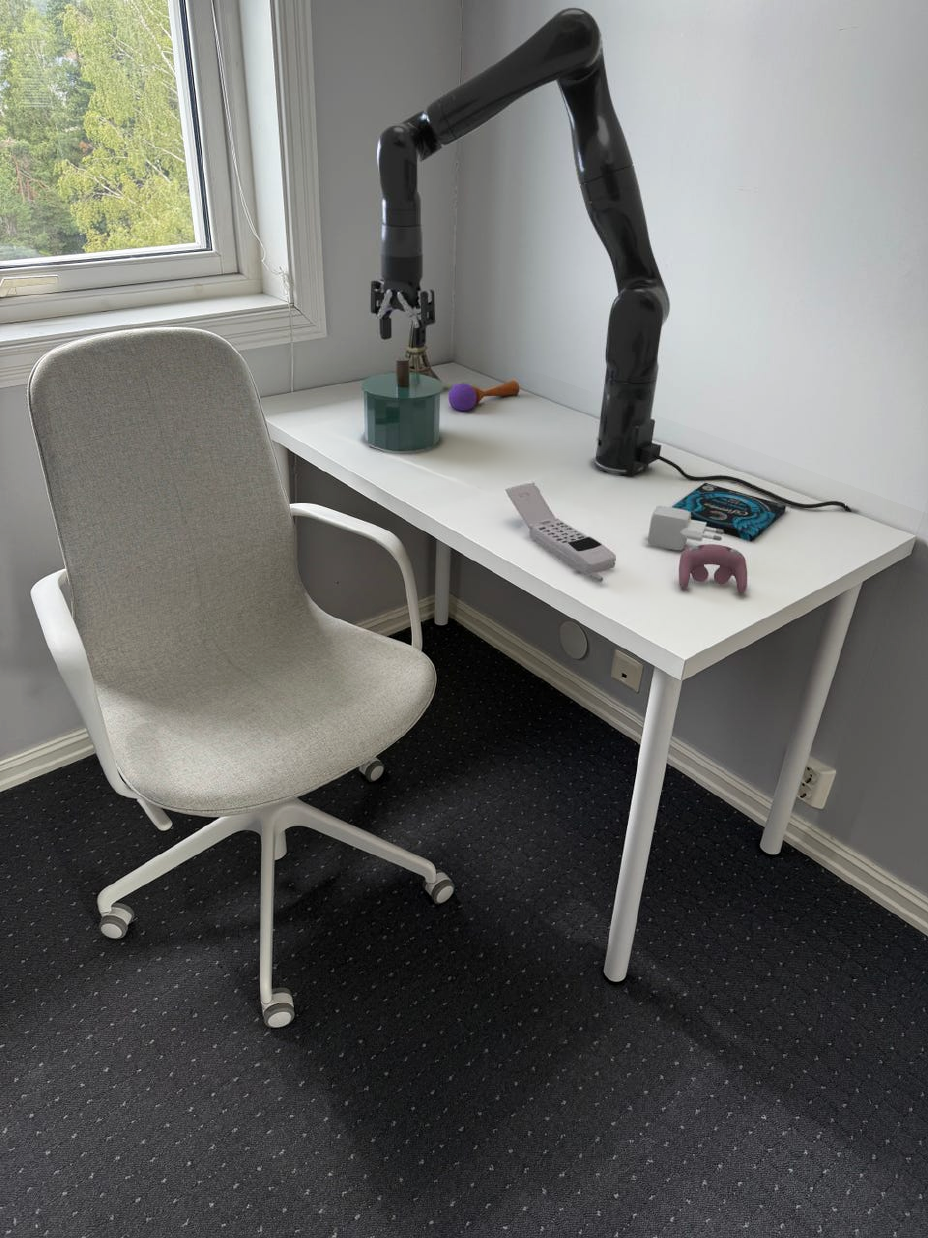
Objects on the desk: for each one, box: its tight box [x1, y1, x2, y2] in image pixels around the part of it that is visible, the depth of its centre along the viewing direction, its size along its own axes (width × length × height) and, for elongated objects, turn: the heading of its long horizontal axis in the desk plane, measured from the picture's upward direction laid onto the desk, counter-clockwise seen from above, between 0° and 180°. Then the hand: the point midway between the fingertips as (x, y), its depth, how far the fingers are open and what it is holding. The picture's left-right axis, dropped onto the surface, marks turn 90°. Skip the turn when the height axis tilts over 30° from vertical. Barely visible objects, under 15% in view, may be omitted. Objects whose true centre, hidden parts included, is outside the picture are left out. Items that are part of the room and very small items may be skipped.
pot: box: [363, 391, 441, 453], centre depth 178 cm, size 15×15×10 cm
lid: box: [360, 356, 445, 401], centre depth 174 cm, size 16×16×6 cm
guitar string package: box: [671, 482, 787, 543], centre depth 156 cm, size 15×1×15 cm
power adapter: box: [647, 505, 725, 551], centre depth 143 cm, size 11×5×6 cm, turn 69°
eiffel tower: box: [404, 307, 448, 390], centre depth 202 cm, size 11×11×25 cm
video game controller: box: [678, 543, 748, 595], centre depth 134 cm, size 10×5×7 cm, turn 84°
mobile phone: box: [504, 482, 617, 583], centre depth 142 cm, size 6×6×25 cm
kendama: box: [448, 380, 521, 412], centre depth 200 cm, size 6×6×20 cm
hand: (402, 342), depth 171 cm, fingers open, 8 cm apart
